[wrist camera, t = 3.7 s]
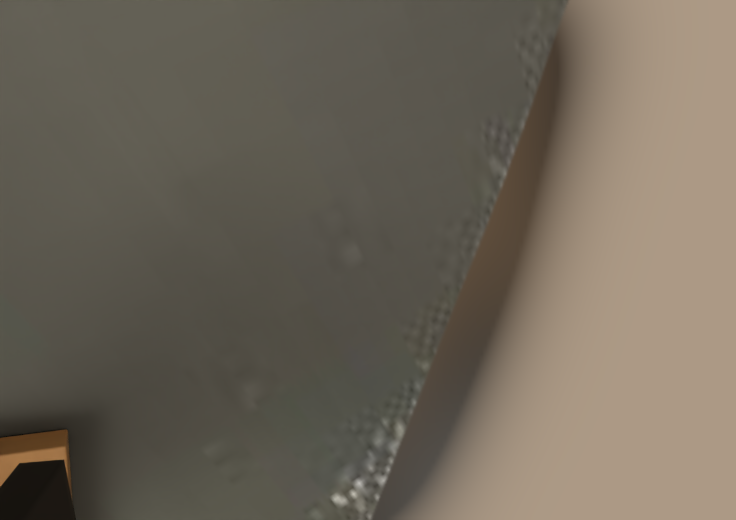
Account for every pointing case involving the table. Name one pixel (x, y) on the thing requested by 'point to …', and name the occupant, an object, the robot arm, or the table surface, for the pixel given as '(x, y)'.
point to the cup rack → (34, 451)
